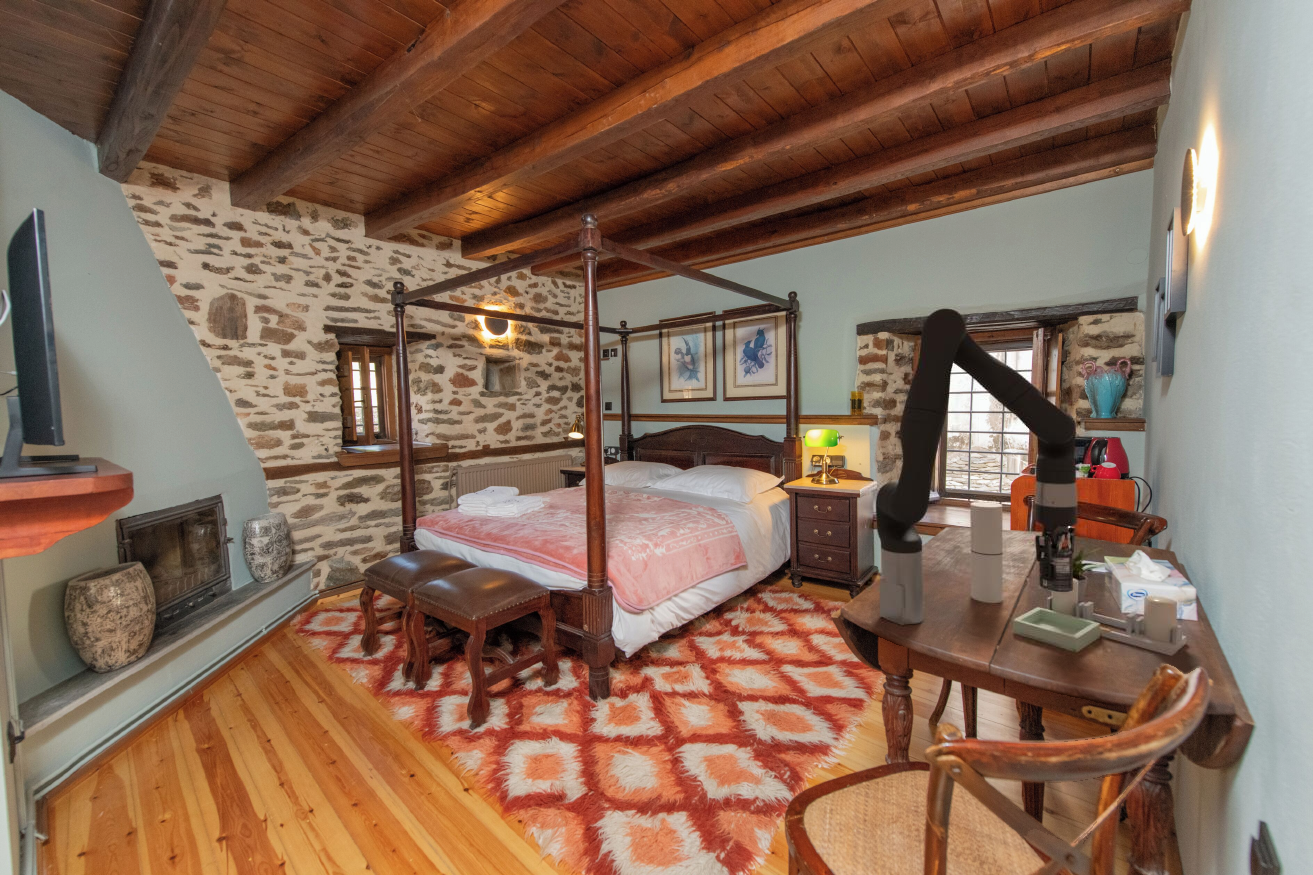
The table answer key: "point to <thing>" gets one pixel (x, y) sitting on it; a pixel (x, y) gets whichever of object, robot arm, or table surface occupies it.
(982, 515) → the cylindrical container
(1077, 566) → the house plant
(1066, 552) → the pill bottle
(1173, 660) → the table surface
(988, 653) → the table surface
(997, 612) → the table surface
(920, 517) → the robot arm
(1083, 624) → the tray
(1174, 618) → the block
